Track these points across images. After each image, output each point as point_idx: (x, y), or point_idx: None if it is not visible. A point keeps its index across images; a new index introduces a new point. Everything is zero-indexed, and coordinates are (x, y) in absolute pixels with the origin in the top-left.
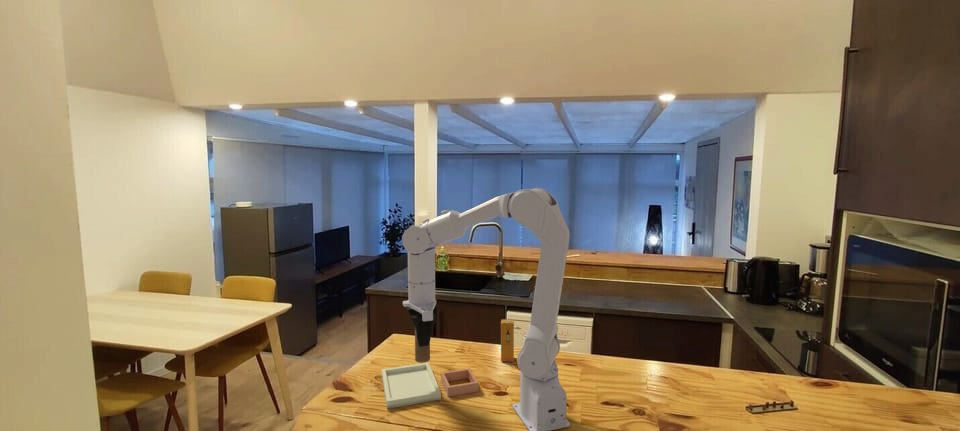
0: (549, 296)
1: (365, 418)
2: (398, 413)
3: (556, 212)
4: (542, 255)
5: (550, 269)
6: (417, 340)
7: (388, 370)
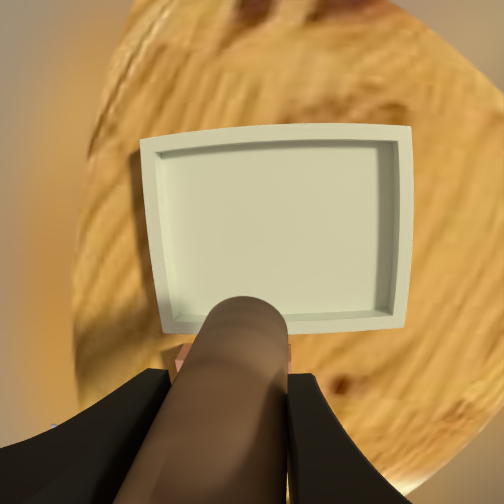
0: None
1: (121, 81)
2: (121, 180)
3: None
4: None
5: None
6: (145, 386)
7: (398, 154)
